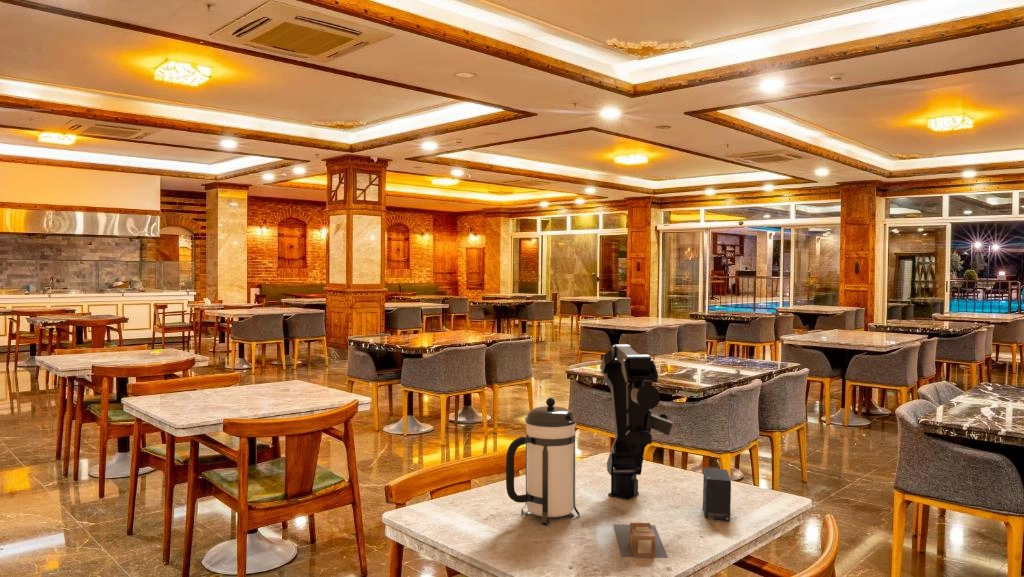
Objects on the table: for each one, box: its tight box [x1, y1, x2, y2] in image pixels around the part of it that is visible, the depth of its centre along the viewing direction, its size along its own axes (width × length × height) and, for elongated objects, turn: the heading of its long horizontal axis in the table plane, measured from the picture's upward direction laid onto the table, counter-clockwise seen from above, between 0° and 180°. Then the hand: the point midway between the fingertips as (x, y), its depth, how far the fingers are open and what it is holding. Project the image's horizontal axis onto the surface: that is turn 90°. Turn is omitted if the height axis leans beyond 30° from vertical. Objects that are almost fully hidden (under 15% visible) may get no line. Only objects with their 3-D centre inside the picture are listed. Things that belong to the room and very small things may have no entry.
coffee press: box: [505, 397, 581, 527], centre depth 178 cm, size 17×16×30 cm
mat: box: [613, 523, 669, 559], centre depth 162 cm, size 20×10×1 cm, turn 177°
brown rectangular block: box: [629, 522, 655, 558], centre depth 156 cm, size 5×5×8 cm
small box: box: [701, 467, 732, 522], centre depth 181 cm, size 11×6×10 cm, turn 168°
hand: (638, 466), depth 179 cm, fingers closed
